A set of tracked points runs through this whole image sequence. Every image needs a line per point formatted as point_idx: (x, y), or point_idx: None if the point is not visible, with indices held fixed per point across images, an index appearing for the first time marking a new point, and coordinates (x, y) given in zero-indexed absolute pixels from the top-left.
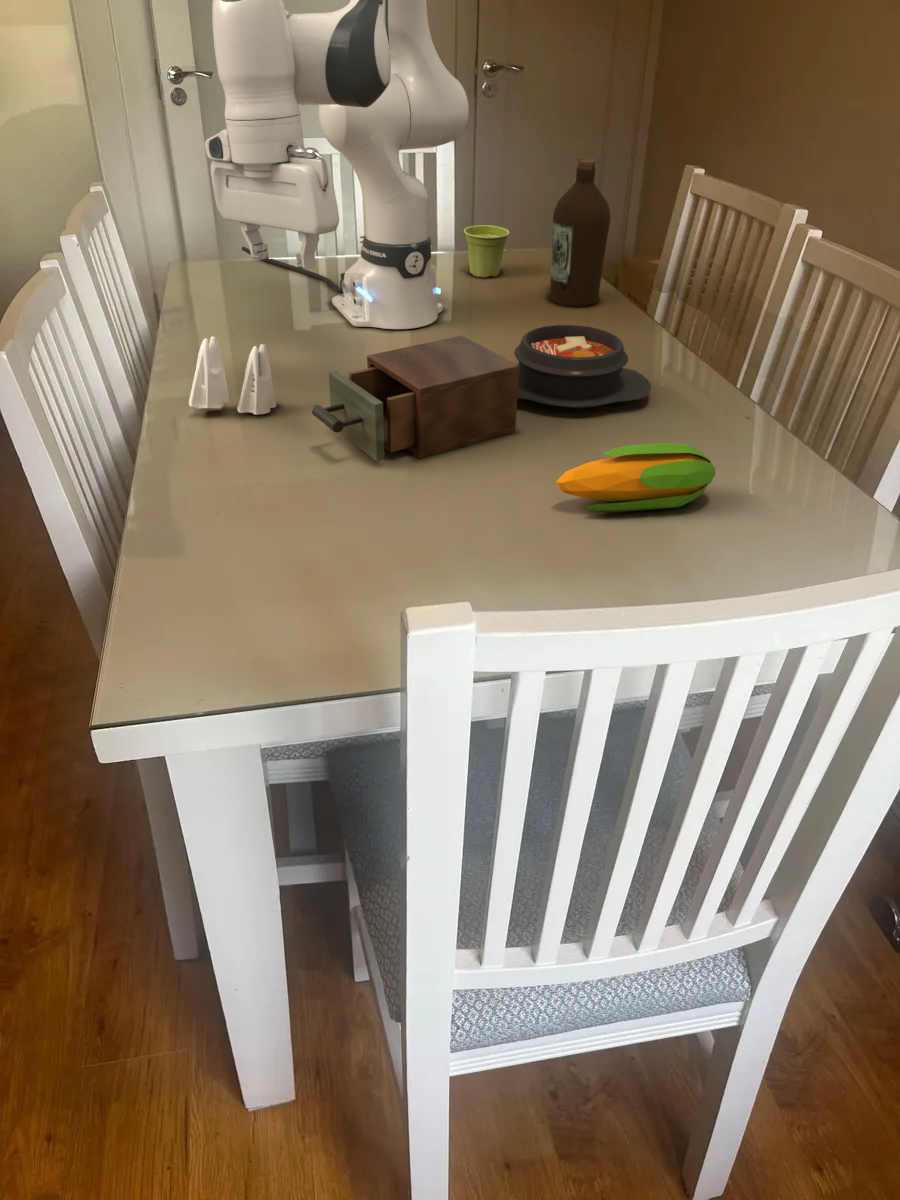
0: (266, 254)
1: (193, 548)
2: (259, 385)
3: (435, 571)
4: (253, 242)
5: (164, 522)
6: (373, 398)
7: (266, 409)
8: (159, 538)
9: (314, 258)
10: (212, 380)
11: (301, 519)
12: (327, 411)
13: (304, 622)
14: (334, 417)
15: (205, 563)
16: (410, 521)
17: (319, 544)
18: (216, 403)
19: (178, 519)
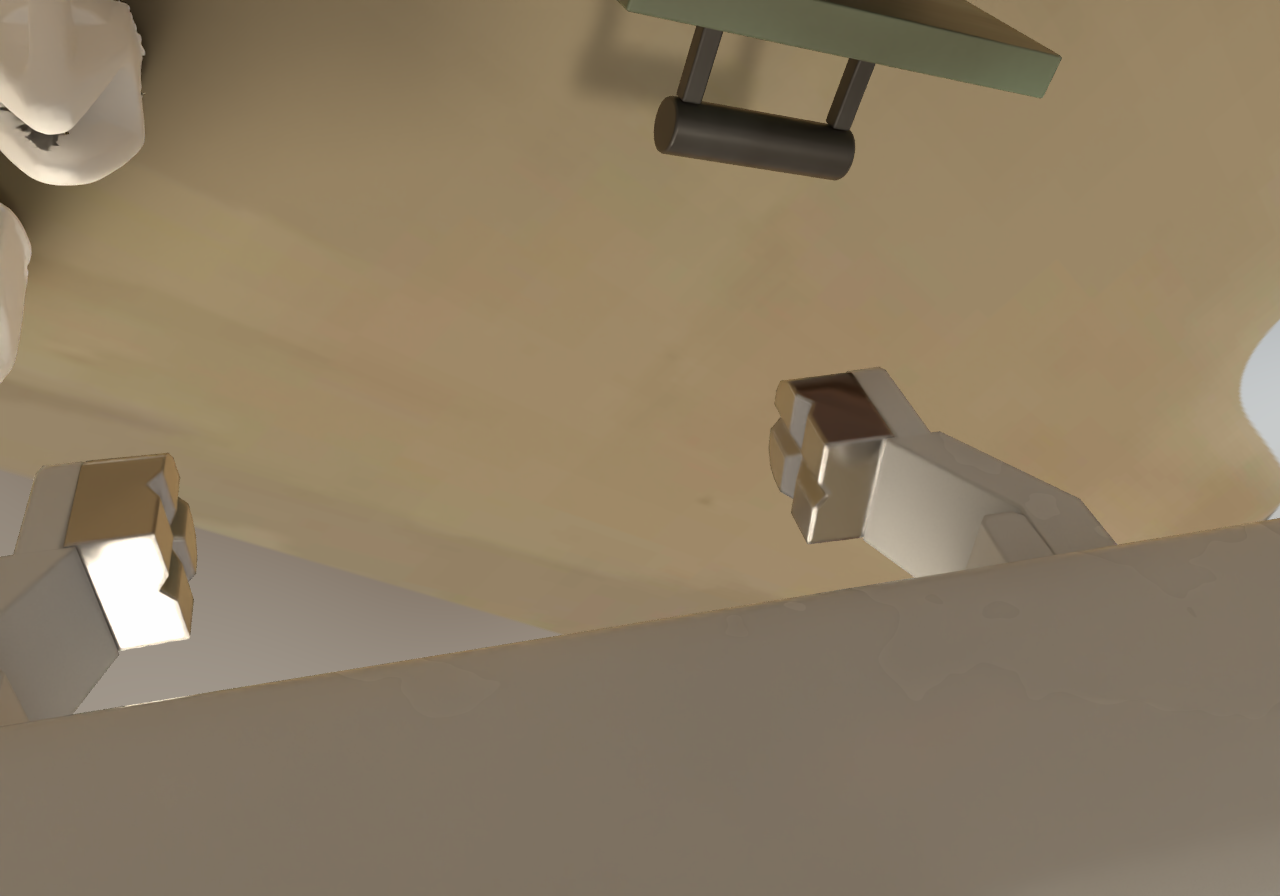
0: (171, 483)
1: (779, 582)
2: (143, 120)
3: (1271, 251)
4: (98, 653)
5: (641, 598)
6: (1007, 60)
7: (134, 34)
8: None
9: (905, 403)
10: (10, 320)
11: (891, 362)
12: (754, 138)
13: (1109, 517)
14: (819, 154)
15: (840, 581)
16: (1140, 152)
17: (994, 384)
18: (20, 251)
19: (654, 573)
